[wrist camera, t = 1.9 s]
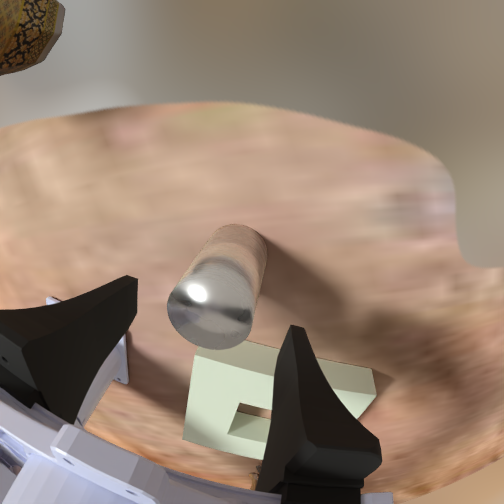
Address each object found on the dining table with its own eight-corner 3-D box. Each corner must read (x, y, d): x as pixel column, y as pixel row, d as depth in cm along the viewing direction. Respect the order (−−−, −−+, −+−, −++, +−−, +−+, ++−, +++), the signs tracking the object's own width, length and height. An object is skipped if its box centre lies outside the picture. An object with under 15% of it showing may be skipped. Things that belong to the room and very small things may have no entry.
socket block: (189, 418, 29) (182, 439, 26) (205, 328, 23) (194, 354, 20) (311, 445, 28) (310, 467, 26) (371, 368, 22) (376, 395, 20)
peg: (202, 270, 21) (164, 335, 14) (212, 217, 19) (171, 267, 13) (259, 286, 20) (241, 358, 14) (274, 233, 19) (261, 294, 12)
